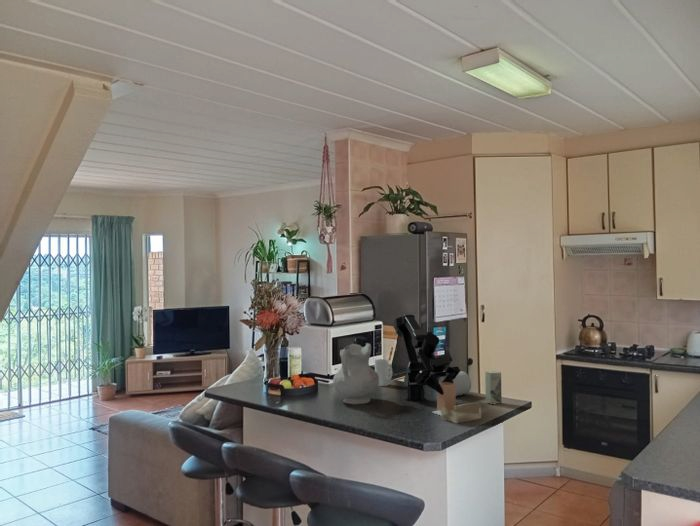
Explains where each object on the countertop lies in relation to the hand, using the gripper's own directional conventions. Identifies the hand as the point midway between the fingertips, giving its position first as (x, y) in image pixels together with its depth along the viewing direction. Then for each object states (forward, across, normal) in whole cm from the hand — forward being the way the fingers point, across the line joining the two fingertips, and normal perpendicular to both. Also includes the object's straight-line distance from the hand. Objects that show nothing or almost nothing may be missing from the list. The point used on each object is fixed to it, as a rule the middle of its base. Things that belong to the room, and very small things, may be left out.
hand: (448, 393), depth 208 cm
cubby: (+10, 0, +1) cm, 10 cm away
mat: (+5, 0, +7) cm, 8 cm away
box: (+4, +26, +8) cm, 27 cm away
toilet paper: (-10, +23, +22) cm, 33 cm away
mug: (-36, +10, +48) cm, 61 cm away
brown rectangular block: (+4, 0, +6) cm, 7 cm away
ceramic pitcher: (-22, -18, +33) cm, 44 cm away
